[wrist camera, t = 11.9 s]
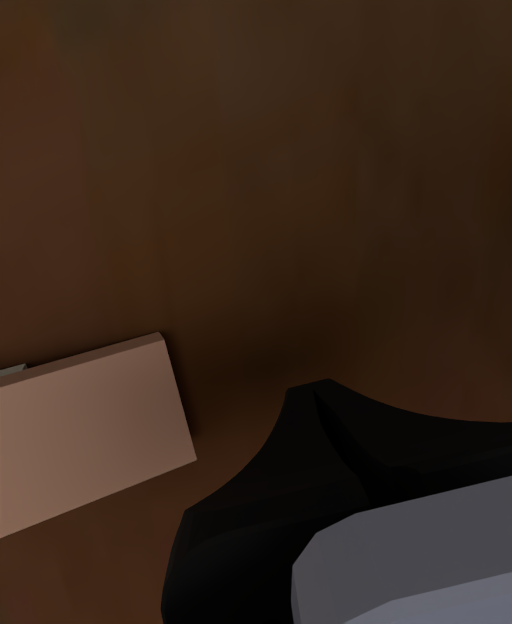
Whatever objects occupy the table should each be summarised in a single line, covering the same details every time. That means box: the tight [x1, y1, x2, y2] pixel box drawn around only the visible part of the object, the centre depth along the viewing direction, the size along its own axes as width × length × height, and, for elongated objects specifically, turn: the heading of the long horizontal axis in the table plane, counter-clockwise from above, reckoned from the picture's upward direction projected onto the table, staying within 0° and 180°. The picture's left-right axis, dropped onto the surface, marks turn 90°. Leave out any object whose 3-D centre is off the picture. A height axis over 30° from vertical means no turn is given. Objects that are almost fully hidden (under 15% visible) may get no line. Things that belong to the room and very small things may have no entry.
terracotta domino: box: [0, 332, 197, 538], centre depth 14 cm, size 2×5×8 cm
